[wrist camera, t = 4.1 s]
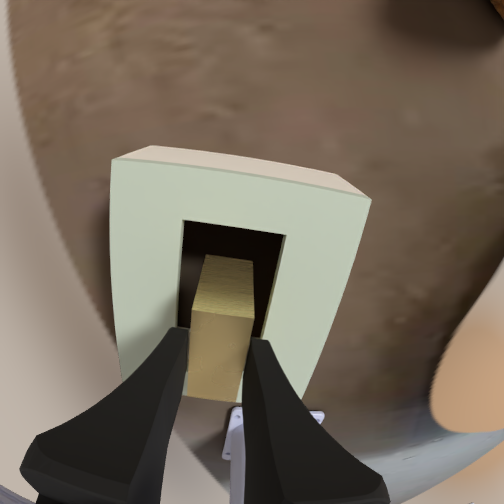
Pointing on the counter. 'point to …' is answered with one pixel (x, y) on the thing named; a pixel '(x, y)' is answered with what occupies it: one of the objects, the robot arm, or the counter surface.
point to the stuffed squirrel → (499, 6)
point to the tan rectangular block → (220, 328)
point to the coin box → (236, 215)
